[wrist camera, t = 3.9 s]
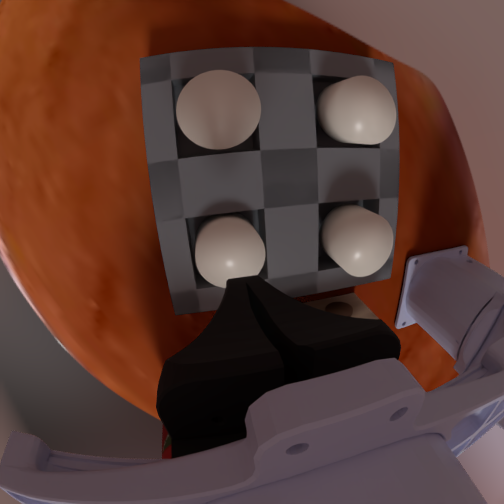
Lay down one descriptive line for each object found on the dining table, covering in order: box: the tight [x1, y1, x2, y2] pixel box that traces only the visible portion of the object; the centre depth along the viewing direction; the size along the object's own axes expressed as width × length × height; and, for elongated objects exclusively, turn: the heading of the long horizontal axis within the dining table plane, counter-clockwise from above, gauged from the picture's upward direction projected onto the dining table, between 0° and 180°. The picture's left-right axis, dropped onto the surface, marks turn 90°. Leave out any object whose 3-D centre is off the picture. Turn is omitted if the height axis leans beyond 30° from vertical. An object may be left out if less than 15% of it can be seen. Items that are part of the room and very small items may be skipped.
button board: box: [140, 47, 399, 315], centre depth 18 cm, size 16×16×3 cm
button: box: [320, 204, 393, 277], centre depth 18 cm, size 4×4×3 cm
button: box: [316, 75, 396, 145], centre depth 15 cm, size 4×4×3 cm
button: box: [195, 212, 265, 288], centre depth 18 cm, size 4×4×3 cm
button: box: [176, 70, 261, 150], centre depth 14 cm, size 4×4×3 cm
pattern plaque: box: [304, 293, 378, 319], centre depth 21 cm, size 9×1×6 cm, turn 94°
